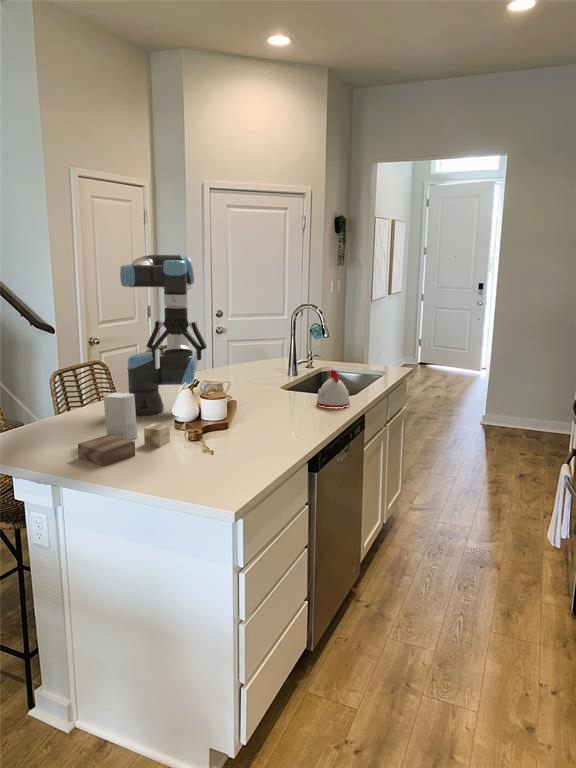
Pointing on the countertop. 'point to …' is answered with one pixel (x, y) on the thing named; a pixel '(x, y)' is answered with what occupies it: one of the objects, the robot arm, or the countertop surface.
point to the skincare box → (120, 415)
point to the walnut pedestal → (106, 450)
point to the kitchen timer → (333, 392)
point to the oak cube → (156, 435)
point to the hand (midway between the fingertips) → (177, 368)
